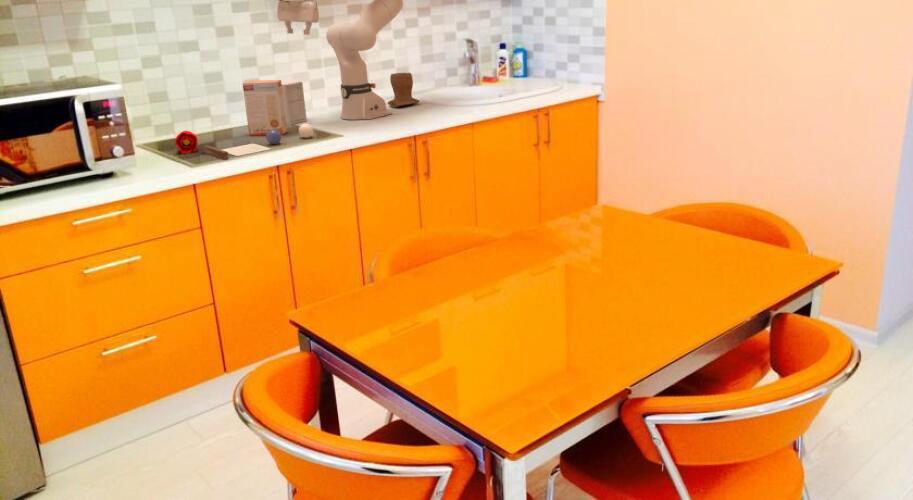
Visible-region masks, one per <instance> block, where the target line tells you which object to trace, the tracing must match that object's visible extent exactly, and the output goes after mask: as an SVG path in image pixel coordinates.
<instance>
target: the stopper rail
mask: <svg viewBox="0 0 913 500" xmlns="http://www.w3.org/2000/svg"><path fill="white" fill-rule="evenodd" d="M203 151H204V152H203V153H204V154H206V155H209V156H213V157H216V158H218V159H222V160H225V161H226V160H229V159H230V157H229V154H228V152H226V151H223V150H222V149H220V148H216V147H214V146H210V145H203Z"/></svg>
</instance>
